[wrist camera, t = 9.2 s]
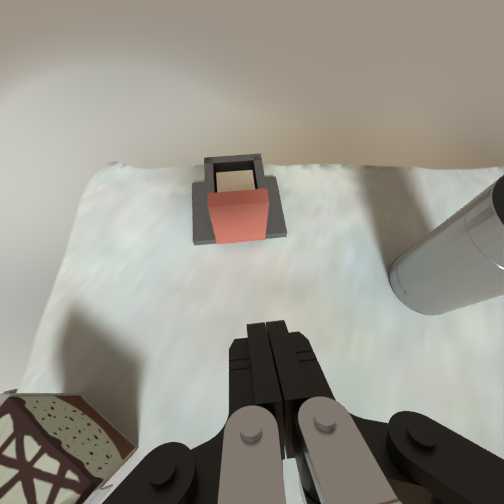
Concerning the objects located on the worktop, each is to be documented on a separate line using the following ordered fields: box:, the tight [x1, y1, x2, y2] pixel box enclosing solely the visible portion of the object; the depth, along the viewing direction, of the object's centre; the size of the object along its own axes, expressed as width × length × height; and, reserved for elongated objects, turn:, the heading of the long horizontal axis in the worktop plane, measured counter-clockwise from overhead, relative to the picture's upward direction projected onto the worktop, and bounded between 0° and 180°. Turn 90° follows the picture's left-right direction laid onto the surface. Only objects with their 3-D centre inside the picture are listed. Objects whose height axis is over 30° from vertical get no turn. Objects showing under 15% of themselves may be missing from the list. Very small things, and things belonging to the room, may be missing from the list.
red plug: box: [208, 170, 269, 244], centre depth 35 cm, size 7×9×9 cm
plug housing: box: [192, 154, 287, 245], centre depth 38 cm, size 14×11×6 cm
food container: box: [0, 389, 138, 504], centre depth 23 cm, size 12×6×10 cm, turn 57°
